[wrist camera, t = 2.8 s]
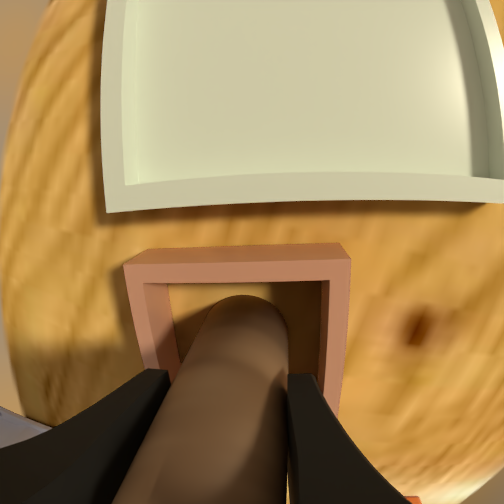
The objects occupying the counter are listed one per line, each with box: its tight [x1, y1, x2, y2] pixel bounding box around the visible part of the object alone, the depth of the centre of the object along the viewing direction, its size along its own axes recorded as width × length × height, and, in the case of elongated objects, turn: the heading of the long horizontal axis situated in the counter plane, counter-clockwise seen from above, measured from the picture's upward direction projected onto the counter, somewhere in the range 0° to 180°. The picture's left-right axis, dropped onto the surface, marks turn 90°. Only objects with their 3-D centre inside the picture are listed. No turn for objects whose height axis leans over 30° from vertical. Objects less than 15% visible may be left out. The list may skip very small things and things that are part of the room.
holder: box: [123, 243, 351, 418], centre depth 11 cm, size 7×7×2 cm
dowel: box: [112, 295, 288, 504], centre depth 7 cm, size 3×3×9 cm
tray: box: [101, 0, 504, 213], centre depth 8 cm, size 14×11×2 cm
